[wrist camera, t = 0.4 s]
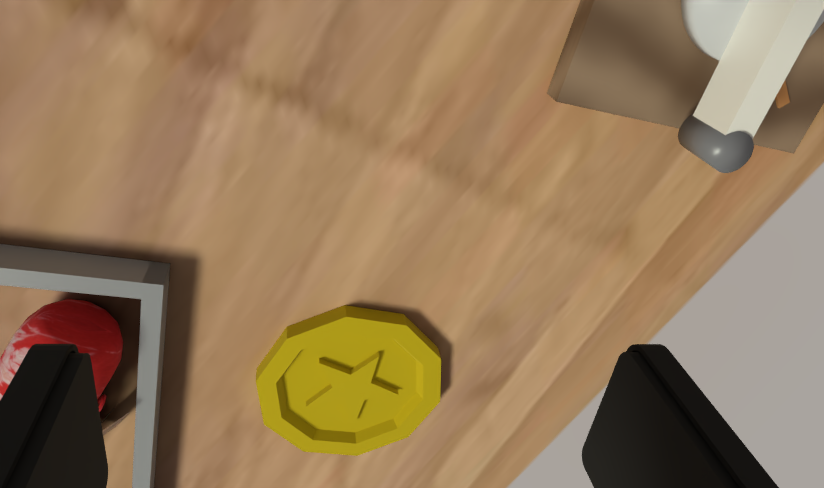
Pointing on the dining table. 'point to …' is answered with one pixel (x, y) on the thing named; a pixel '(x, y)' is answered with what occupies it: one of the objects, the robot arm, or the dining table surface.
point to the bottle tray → (119, 281)
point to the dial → (742, 70)
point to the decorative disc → (349, 381)
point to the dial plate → (669, 70)
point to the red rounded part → (69, 341)
